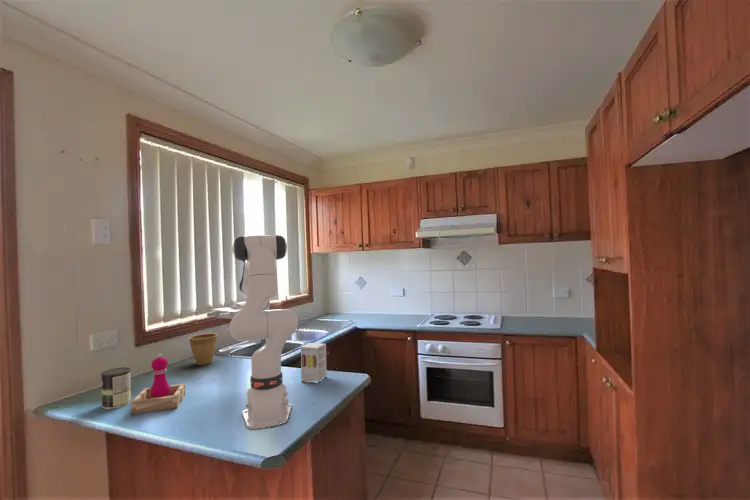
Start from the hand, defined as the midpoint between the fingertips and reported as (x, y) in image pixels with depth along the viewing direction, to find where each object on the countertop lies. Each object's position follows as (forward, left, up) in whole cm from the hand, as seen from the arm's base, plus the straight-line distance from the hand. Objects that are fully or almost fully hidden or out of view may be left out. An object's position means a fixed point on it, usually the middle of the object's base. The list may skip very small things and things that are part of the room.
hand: (213, 315), depth 169 cm
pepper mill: (-9, +20, -33) cm, 40 cm away
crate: (-9, +20, -34) cm, 41 cm away
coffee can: (-2, +38, -34) cm, 51 cm away
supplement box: (-3, -45, -34) cm, 56 cm away
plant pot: (+51, +12, -34) cm, 62 cm away
